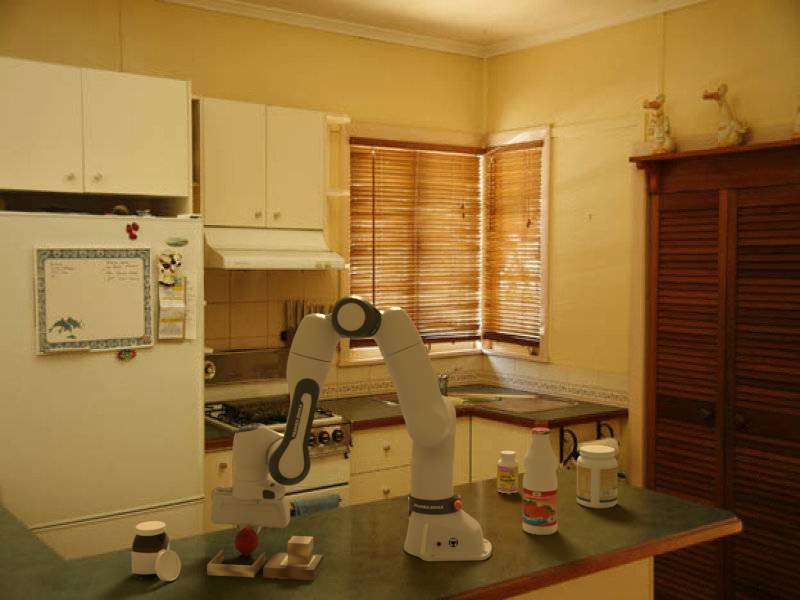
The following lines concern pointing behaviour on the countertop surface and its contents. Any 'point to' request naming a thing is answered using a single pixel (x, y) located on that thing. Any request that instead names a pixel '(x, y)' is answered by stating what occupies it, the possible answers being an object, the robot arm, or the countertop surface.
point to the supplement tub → (597, 476)
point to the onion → (246, 541)
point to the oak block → (300, 550)
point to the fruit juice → (540, 485)
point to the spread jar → (154, 553)
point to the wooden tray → (267, 567)
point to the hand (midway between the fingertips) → (250, 541)
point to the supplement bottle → (507, 473)
